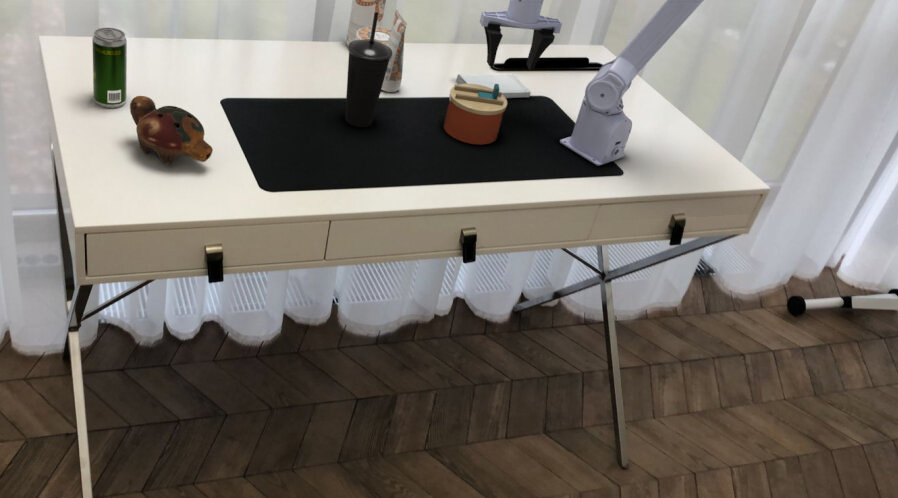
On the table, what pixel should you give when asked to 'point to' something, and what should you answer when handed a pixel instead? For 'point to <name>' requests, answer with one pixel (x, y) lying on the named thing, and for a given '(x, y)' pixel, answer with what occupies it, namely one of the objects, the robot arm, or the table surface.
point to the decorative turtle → (168, 131)
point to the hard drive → (507, 83)
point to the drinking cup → (365, 78)
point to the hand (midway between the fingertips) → (509, 65)
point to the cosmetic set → (380, 36)
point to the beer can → (109, 67)
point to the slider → (489, 95)
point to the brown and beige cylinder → (474, 114)
